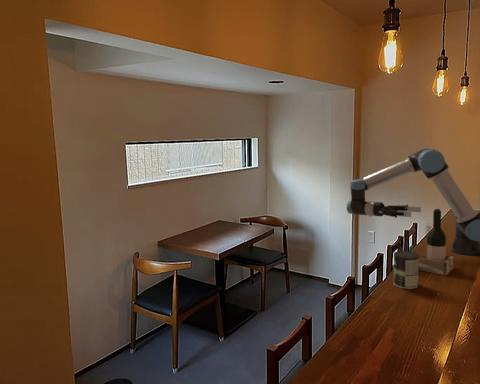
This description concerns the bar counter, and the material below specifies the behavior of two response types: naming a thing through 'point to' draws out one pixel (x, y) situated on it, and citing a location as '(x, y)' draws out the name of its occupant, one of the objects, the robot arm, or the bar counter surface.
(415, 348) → the bar counter surface
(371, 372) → the bar counter surface
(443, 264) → the u rest
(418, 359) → the bar counter surface
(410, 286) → the coffee can
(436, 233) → the wine bottle
